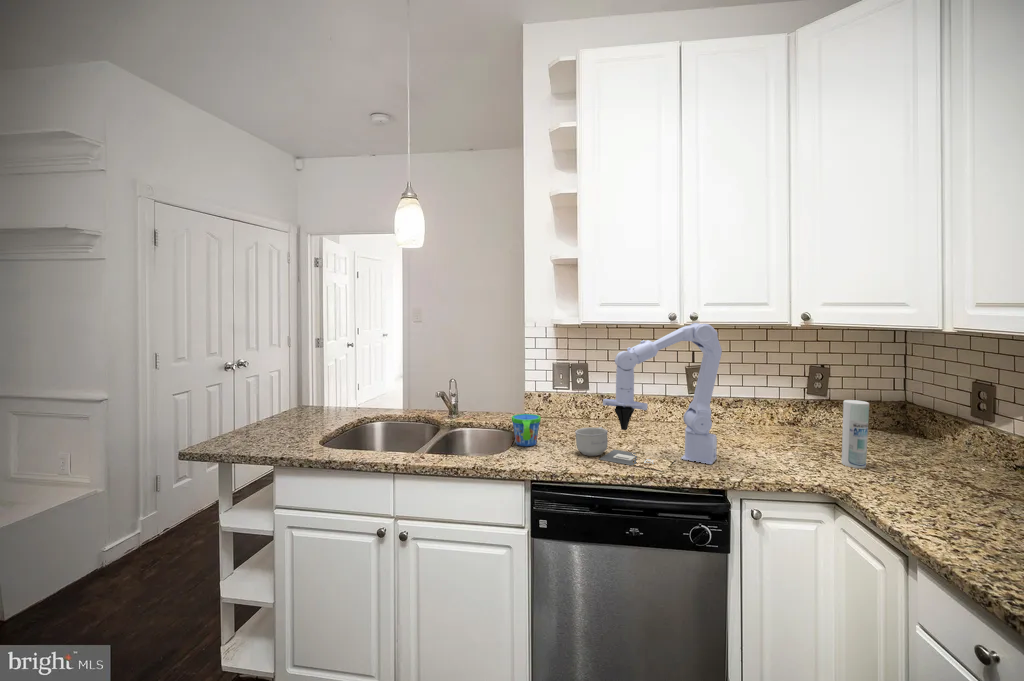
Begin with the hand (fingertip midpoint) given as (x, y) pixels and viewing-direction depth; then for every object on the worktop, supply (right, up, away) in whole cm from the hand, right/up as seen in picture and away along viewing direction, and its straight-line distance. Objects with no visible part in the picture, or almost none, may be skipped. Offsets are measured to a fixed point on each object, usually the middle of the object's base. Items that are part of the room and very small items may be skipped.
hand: (624, 429), depth 155 cm
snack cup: (-32, -9, +16) cm, 37 cm away
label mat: (+4, -10, -2) cm, 10 cm away
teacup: (-9, -9, +6) cm, 14 cm away
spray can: (+70, -10, -7) cm, 71 cm away
